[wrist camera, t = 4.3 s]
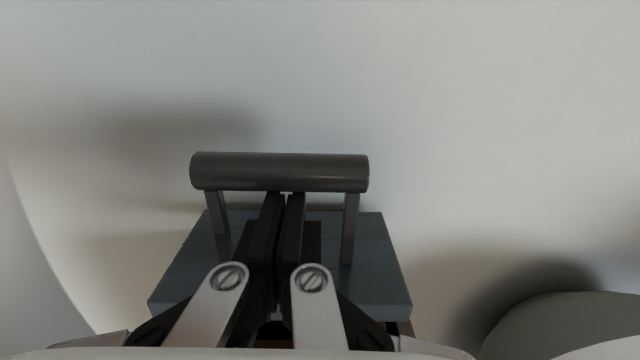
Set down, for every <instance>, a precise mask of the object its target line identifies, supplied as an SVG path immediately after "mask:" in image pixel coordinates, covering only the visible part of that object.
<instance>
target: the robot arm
mask: <svg viewBox="0 0 640 360" xmlns="http://www.w3.org/2000/svg"><path fill="white" fill-rule="evenodd" d="M278 299H279V305H280V313H282V318H283V324H284V325H285V326H286V327H287V328H288V329H289V330H290V332H291V333H292V340H293V349H257V348H253V345H254V342H255V340H256V337H257V332H258V331H257V329H258V328H259V327H261V326H262V325H263V324H264V323H265V322H270V318H271V313H276V311H277V305H278ZM0 360H476V358H474V357H473V356H472V355H470V354H469V353H468V352H465V351H463V350H461V349H457V348H453V347H449V346H445V345H441V344H437V343H433V342H429V341H425V340H421V339H417V338H413V337H409V336H405V335H401V334H400V335H399V337H395V336H391V335H390V334H389V333H388V332H387V331H386V330H385V329H384V328H383V327H382V326H380V325H379V324H378V323H377V322H376V321H374V320H373V319H372V318H371V317H369V316H368V315H367V314H366V313H365V312H363V311H362V310H361V309H360V308H358V307H357V306H356V305H355V304H354V303H352V302H351V301H350V300H349V299H347V298H346V297H345V296H344V295H343V294H341V293H340V292H339V291H338V290H336V289H335V288H334V283H333V279H332V276H331V273H330V271H329V270H328V269H327V268H326V267H324V266H322V265H321V221H316V220H305V192H293V194H288V198H287V203H286V207H285V194H281V193H280V192H278V191H267V194H266V197H265V200H264V203H263V206H262V209H261V212H260V215H259V218H258V219H248V220H247V222H246V224H245V227H244V229H243V232H242V235H241V237H240V240H239V242H238V245H237V247H236V250H235V253H234V255H233V258H232V260H231V261H229V262H225V263H222V264H219V265H217V266H216V267H214V268H213V269H212V270H211V271H210V272H209V273H208V274H207V276H206V277H205V279H204V281H203V282H202V284H201V285H200V287H199V288H198V290H197V291H196V293H195V294H193V295H191V296H189V297H188V298H186V299H184V300H183V301H181V302H179V303H178V304H176V305H174V306H172V307H171V308H169V309H167V310H166V311H164V312H162V313H161V314H159V315H157V316H155V317H154V318H152V319H150V320H149V321H147V322H145V323H144V324H142V325H141V326H139V327H138V328H137V329H135V330H134V331H133V332H129V331H128V329H126V330H121V331H116V332H111V333H106V334H100V335H95V336H90V337H85V338H79V339H74V340H70V341H64V342H60V343H57V344H54V345H51V346H49V347H48V348H46V349H44V350H37V351H30V352H25V353H21V354H16V355H12V356H7V357H4V358H0Z"/></svg>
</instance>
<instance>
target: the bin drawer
mask: <svg viewBox="0 0 640 360" xmlns="http://www.w3.org/2000/svg"><path fill="white" fill-rule="evenodd" d="M189 175H190V181H191V184H192V186H193V187H194V188H195V189H197V190H205V191H204V193H205V198H206V202H207V207H208V209H206V210H204V212H203V213H202V215H201V217H200V218H199V220H198V221H197V223H196V224H195V226H194V228H193V229H192V231H191V232H190V234H189V236H188V237H187V239H186V240H185V242H184V244H183V245H182V247H181V248H180V250H179V252H178V253H177V255H176V256H175V258H174V260H173V261H172V263H171V264H170V266H169V268H168V269H167V271H166V272H165V274H164V275H163V277H162V279H161V280H160V282H159V283H158V285H157V287H156V288H155V290H154V291H153V293H152V295H151V296H150V298H149V299H148V301H147V305H148V307H149V309H150V311H151V314H152V316H153V318H154V317H155V316H157V315H159V314H161V313H162V312H164V311H166V310H167V309H169V308H171V307H172V306H174V305H176V304H178V303H179V302H181V301H183V300H184V299H186V298H188V297H189V296H191V295H193V294H195V293H196V291H197V290H198V288H199V287H200V285H201V284H202V282H203V281H204V279H205V277H206V276H207V274H208V273H209V272H210V271H211V270H212V269H213V268H214V267H216V266H217V265H219V264H222V263H225V262H229V261H231V260H232V258H233V255H234V253H235V250H236V247H237V245H238V242H239V240H240V237H241V235H242V232H243V229H244V227H245V224H246V222H247V220H248V219H258V218H259V215H260V212H261V210H226V206H225V200H224V195H223V191H278V192H336V193H345V195H344V208H343V212H337V211H305V220H316V221H321V265H322V266H324V267H326V268H327V269H328V270H329V271H330V273H331V276H332V279H333V283H334V288H335V289H336V290H338V291H339V292H340V293H341V294H343V295H344V296H345V297H346V298H347V299H349V300H350V301H351V302H352V303H354V304H355V305H356V306H357V307H358V308H360V309H361V310H362V311H363V312H365V313H366V314H367V315H368V316H369V317H371V318H372V319H373V320H374V321H376V322H377V323H378V324H379V325H380V326H382V327H383V328H384V329H385V330H386V326H385V322H408V321H409V317H410V314H411V311H412V307H413V304H412V301H411V298H410V295H409V292H408V289H407V286H406V283H405V280H404V278H403V275H402V272H401V269H400V266H399V263H398V260H397V257H396V254H395V251H394V248H393V245H392V242H391V239H390V236H389V233H388V230H387V227H386V224H385V221H384V218H383V215H382V213H381V212H358V208H359V200H360V193H365V192H366V191H367V189H368V185H369V160H368V157H367V155H359V154H307V153H255V152H203V151H198V152H196V153H194V154H193V156H192V158H191V161H190V167H189ZM257 331H258V332H257V337H256V340H292V333H291V332H290V330H289V329H288V328H287V327H286V326H285V325H284V324H283V318H282V313H280V305H279V299H278V305H277V311H276V313H271V318H270V322H265V323H264V324H263V325H262V326H261V327H259V328H258V329H257ZM386 331H387V330H386Z"/></svg>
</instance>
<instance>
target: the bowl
mask: <svg viewBox="0 0 640 360" xmlns="http://www.w3.org/2000/svg"><path fill="white" fill-rule="evenodd" d="M476 360H640V295H636V294H628V293H618V292H609V291H585V292H571V291H557V292H550V293H545V294H541V295H537V296H534V297H532V298H529V299H526V300H524V301H522V302H520V303H518V304H517V305H515V306H514V307H512V308H511V309H509V310H508V311H507V312H506V313H505V314H504V315H503V316H502V317H501V318H500V320H499V321H498V323H497V326H496V327H495V328H494V329H493V330H492V331H491V332H490V333H489V335H488V336H487V337H486V338H485V340H484V342H483V344H482V346H481V348H480V350H479V352H478V355H477V357H476Z"/></svg>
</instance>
